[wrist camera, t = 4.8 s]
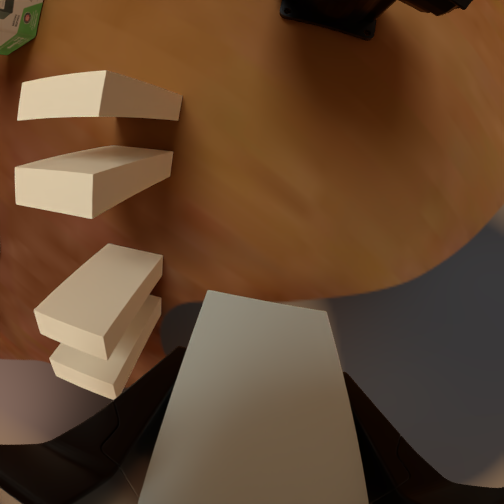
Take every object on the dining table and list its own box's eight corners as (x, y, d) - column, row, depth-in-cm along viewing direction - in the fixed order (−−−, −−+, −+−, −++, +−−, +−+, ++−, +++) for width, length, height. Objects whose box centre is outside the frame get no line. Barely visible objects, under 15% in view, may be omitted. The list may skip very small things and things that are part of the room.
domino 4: (161, 297, 23) (113, 384, 14) (161, 314, 24) (117, 401, 15) (110, 284, 23) (49, 358, 14) (111, 300, 24) (55, 375, 15)
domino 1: (182, 95, 17) (106, 70, 8) (178, 120, 18) (98, 116, 8) (119, 93, 17) (22, 82, 8) (116, 116, 17) (17, 120, 8)
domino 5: (326, 311, 12) (375, 561, 2) (313, 342, 12) (339, 568, 3) (207, 289, 12) (124, 551, 2) (203, 323, 12) (138, 554, 3)
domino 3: (163, 255, 22) (103, 336, 12) (162, 275, 22) (107, 360, 13) (108, 243, 22) (33, 309, 12) (108, 262, 22) (40, 333, 13)
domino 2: (173, 151, 18) (92, 174, 9) (170, 176, 19) (92, 218, 10) (112, 145, 18) (14, 167, 9) (110, 168, 19) (15, 204, 10)
